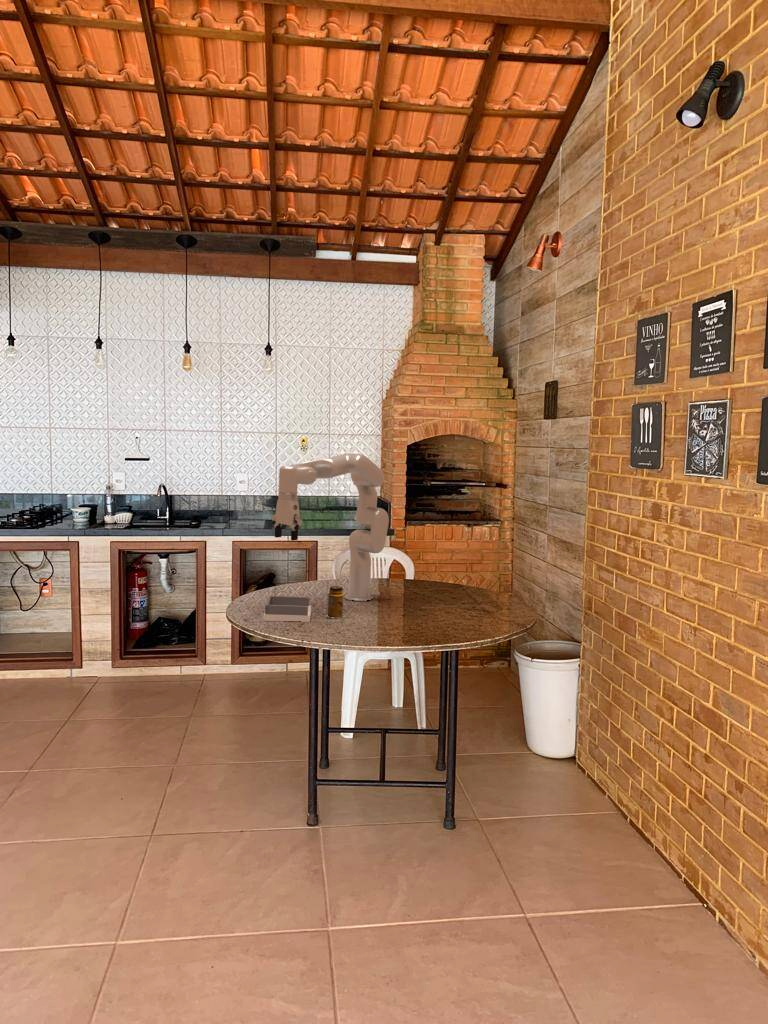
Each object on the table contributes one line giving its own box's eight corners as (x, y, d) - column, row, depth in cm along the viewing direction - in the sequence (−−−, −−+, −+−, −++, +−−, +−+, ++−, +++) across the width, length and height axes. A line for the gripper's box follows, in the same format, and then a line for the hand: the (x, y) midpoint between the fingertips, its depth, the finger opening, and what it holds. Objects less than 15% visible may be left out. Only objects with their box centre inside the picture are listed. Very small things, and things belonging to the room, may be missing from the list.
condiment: (346, 617, 282) (347, 588, 281) (328, 619, 277) (329, 589, 276) (337, 613, 288) (338, 584, 287) (319, 615, 283) (320, 586, 282)
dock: (311, 611, 289) (311, 597, 288) (309, 622, 271) (310, 607, 270) (267, 609, 287) (267, 595, 287) (263, 620, 270) (263, 605, 269)
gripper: (309, 498, 278) (307, 540, 280) (280, 494, 289) (278, 535, 291) (295, 498, 273) (293, 542, 274) (266, 495, 284) (264, 536, 285)
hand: (286, 538), depth 283 cm, fingers open, 9 cm apart
